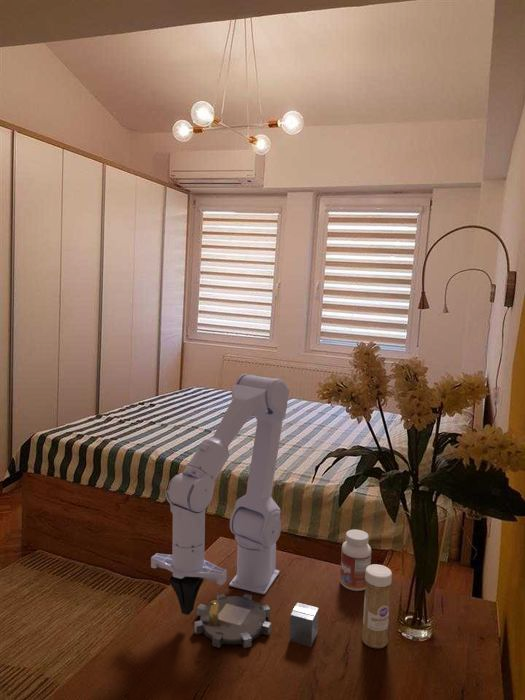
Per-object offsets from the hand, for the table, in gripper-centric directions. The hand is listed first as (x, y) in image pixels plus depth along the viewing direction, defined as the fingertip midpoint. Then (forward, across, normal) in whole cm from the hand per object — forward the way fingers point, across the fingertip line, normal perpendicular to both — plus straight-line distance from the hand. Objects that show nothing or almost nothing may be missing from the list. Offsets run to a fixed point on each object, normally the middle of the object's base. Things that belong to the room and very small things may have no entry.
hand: (187, 611), depth 96 cm
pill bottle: (+3, +26, +27) cm, 37 cm away
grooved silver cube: (+3, +20, +6) cm, 21 cm away
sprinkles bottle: (+3, +32, +10) cm, 34 cm away
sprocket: (+3, +8, +4) cm, 9 cm away
